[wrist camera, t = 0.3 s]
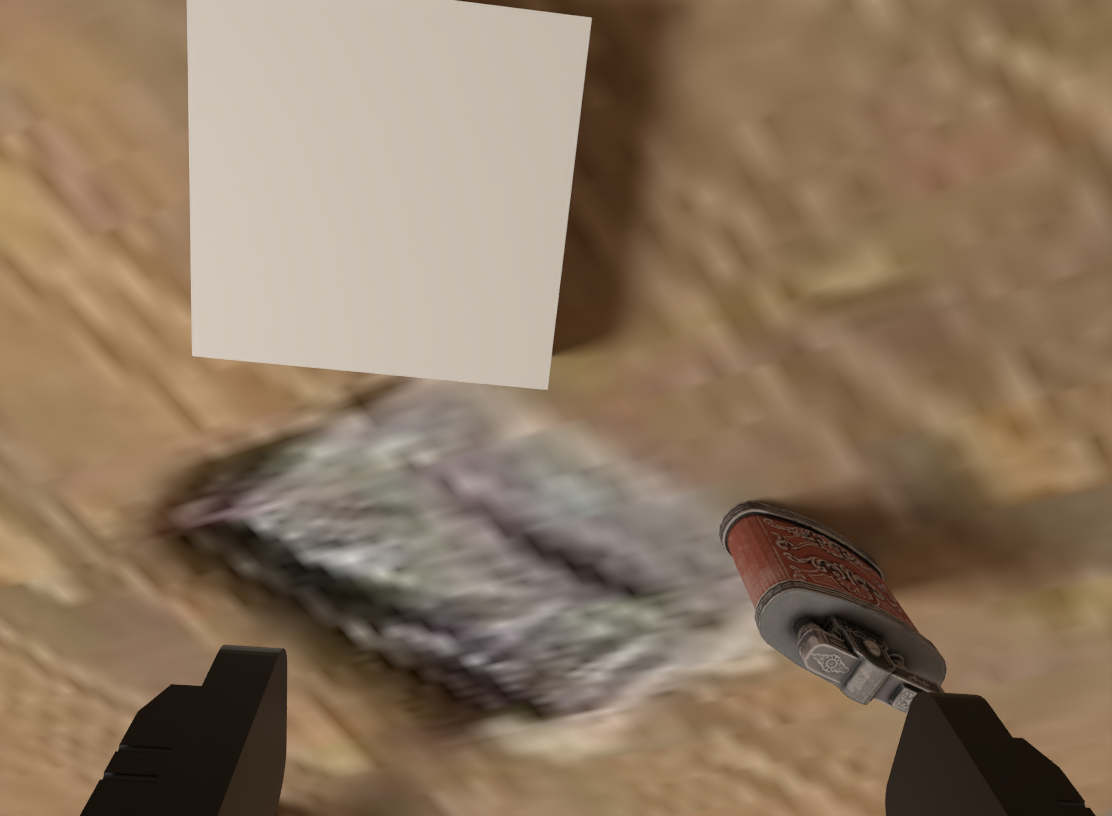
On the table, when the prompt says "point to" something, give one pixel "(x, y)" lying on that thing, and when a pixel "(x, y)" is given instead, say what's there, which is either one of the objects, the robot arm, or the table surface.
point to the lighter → (828, 606)
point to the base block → (382, 184)
